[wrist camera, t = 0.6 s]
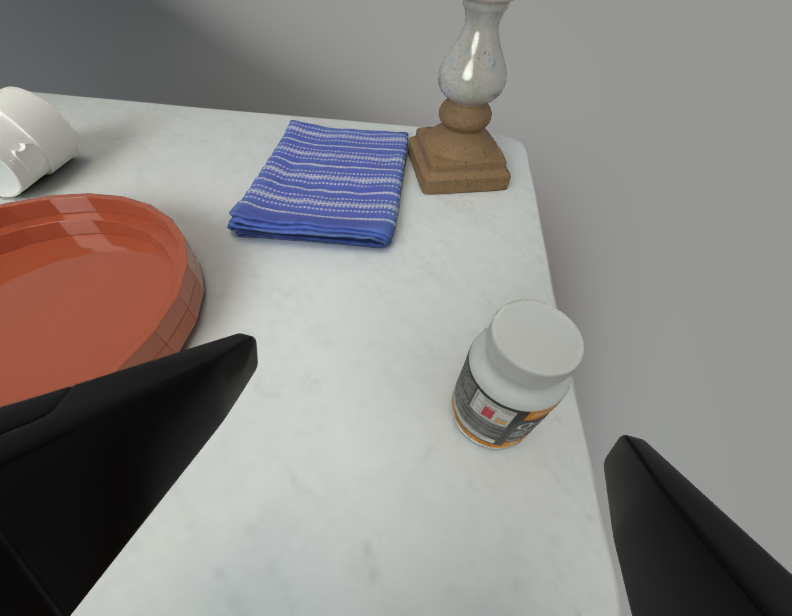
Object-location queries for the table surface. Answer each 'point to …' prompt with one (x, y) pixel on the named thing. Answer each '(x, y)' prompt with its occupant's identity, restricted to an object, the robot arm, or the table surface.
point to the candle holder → (466, 111)
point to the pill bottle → (516, 373)
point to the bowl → (89, 290)
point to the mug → (31, 140)
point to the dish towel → (326, 188)
